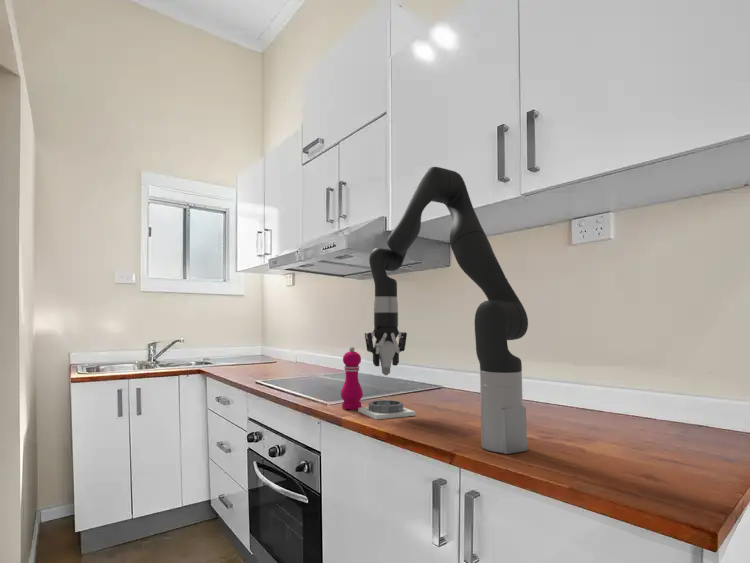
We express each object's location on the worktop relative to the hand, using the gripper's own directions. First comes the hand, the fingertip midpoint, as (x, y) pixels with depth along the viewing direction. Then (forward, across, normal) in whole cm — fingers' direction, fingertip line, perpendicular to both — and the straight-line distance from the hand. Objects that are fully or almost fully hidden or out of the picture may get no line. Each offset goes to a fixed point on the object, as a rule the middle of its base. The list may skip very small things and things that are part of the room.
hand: (386, 365), depth 144 cm
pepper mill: (+15, -6, +13) cm, 21 cm away
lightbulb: (+3, 0, 0) cm, 3 cm away
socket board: (+15, 0, 0) cm, 15 cm away
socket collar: (+14, 0, 0) cm, 14 cm away
